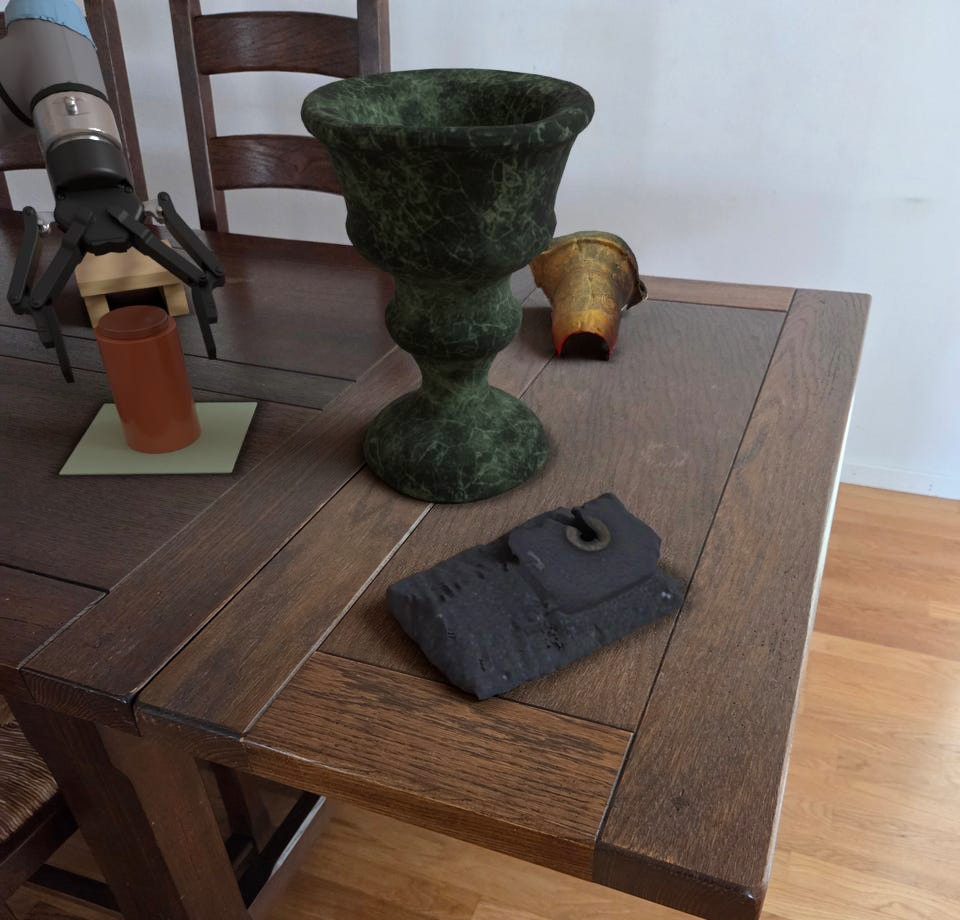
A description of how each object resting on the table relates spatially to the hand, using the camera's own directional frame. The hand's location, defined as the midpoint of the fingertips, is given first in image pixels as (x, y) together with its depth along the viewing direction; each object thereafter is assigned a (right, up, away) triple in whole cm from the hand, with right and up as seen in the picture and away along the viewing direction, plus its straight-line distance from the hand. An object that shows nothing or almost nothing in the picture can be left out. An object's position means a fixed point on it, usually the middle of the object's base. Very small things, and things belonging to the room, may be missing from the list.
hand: (142, 366), depth 87 cm
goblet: (+31, -9, 0) cm, 32 cm away
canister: (+2, -7, +1) cm, 7 cm away
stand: (-11, +16, +27) cm, 33 cm away
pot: (+45, +11, +22) cm, 52 cm away
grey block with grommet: (+37, -24, -18) cm, 47 cm away
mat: (+2, -7, +1) cm, 7 cm away
